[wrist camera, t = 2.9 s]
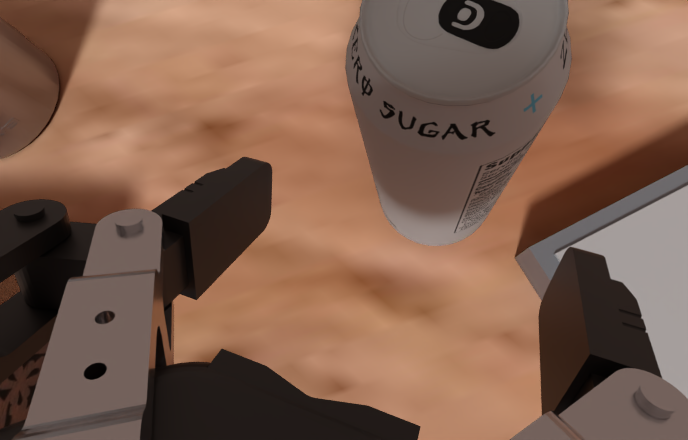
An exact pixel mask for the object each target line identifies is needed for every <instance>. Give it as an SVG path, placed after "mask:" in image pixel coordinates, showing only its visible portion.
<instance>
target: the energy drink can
mask: <svg viewBox="0 0 688 440" xmlns="http://www.w3.org/2000/svg"><path fill="white" fill-rule="evenodd" d="M568 14H569V12H568V0H362V4H361V7H360V17H359V19H358V20H357V22H356V24H355V26H354V28H353V30H352V33H351V36H350V40H349V43H348V47H347V53H346V74H347V81H348V86H349V90H350V94H351V97H352V101H353V105H354V108H355V112H356V116H357V119H358V123H359V127H360V130H361V134H362V137H363V141H364V145H365V148H366V152H367V156H368V159H369V163H370V167H371V170H372V174H373V178H374V181H375V185H376V189H377V192H378V196H379V199H380V203H381V207H382V209H383V212H384V214H385V216H386V218H387V220H388V221H389V223H390V224H391V225H392V226H393V228H394V229H395V230H396V231H397V232H398V233H400V234H401V235H403V236H404V237H406V238H407V239H409V240H412V241H414V242H416V243H419V244H424V245H428V246H442V245H449V244H453V243H456V242H458V241H461V240H463V239H465V238H466V237H468V236H470V235H471V234H473V233H474V232H475V231H476V230H477V229H478V228H479V227H480V226H481V224H482V223H483V222H484V220H485V219H486V217H487V216H488V214H489V212H490V211H491V209H492V208H493V206H494V204H495V203H496V201H497V199H498V198H499V196H500V195H501V193H502V191H503V190H504V188H505V187H506V185H507V183H508V182H509V180H510V178H511V177H512V175H513V174H514V172H515V170H516V169H517V167H518V166H519V164H520V162H521V161H522V159H523V157H524V156H525V154H526V153H527V151H528V149H529V148H530V146H531V145H532V143H533V141H534V140H535V138H536V136H537V135H538V133H539V132H540V130H541V128H542V127H543V125H544V124H545V122H546V120H547V119H548V117H549V115H550V114H551V112H552V111H553V109H554V107H555V106H556V104H557V103H558V101H559V99H560V97H561V95H562V93H563V90H564V88H565V86H566V83H567V81H568V78H569V72H570V66H571V60H572V56H571V42H570V36H569V33H568V29H567V26H566V25H567V20H568Z"/></svg>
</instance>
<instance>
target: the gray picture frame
mask: <svg viewBox="0 0 688 440" xmlns="http://www.w3.org/2000/svg"><path fill="white" fill-rule="evenodd" d="M569 247H574V248H578V249H582V250H585V251H589V252H593V253H596V254H600V255H603V256H604V257H605V259H606V263H607V266H608V270H609V274H610V278H611V279H613V280H616V281H620V282H623V284H624V285H625V286H626V287H627V288H628V289H629V291H630V292H631V293H632V294H633V295H634V297H635V298H636V299H637V302H638V305H639V308H640V311H641V314H642V317H641V318H642V319H643V320H644V323H645V326H646V333H648V336H649V339H650V342H651V345H652V348H653V351H654V354H655V357H656V360H657V363H658V367H659V370H660V373H661V376H662V379H664V380H666V381H667V382H669V383H670V384H672V385H673V386H674V387H675V388H677V389H678V390H679V391H680V392H681V393H682V394H683V395H685V396H686V398H687V399H688V165H687V166H685V167H683V168H681V169H679V170H677V171H675V172H673V173H671V174H669V175H667V176H666V177H664V178H662V179H660V180H658V181H656V182H654V183H652V184H650V185H648V186H646V187H644V188H642V189H640V190H639V191H637V192H635V193H633V194H631V195H629V196H627V197H625V198H623V199H621V200H619V201H617V202H615V203H613V204H612V205H610V206H608V207H606V208H604V209H602V210H600V211H598V212H596V213H594V214H592V215H590V216H588V217H586V218H585V219H583V220H581V221H579V222H577V223H575V224H573V225H571V226H569V227H567V228H565V229H563V230H561V231H559V232H557V233H556V234H554V235H552V236H550V237H548V238H546V239H544V240H542V241H540V242H538V243H536V244H534V245H532V246H530V247H529V248H527V249H526V250H525V251H523V252H522V253H521V254H519V255H518V256H517V257H515V259H516V261H517V262H518V264H519V265H520V267H521V269H522V270H523V272H524V273H525V275H526V276H527V278H528V280H529V281H530V283H531V284H532V286H533V288H534V289H535V291H536V292H537V294H538V295H539V297H540V299H541V300H542V299H543V296H544V294H545V292H546V290H547V288H548V286H549V283H550V281H551V279H552V277H553V275H554V273H555V271H556V269H557V267H558V265H559V263H560V261H561V259H562V257H563V255H564V253H565V251H566V250H567V249H568V248H569Z"/></svg>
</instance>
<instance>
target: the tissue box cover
mask: <svg viewBox="0 0 688 440" xmlns="http://www.w3.org/2000/svg"><path fill="white" fill-rule="evenodd" d="M48 345H49V342H48V343H47V344H46V345H45V346H43V347H42V348H41V349H40V350H39V351H38V352H37V353H35V354H34V355H33V356H32V357H31V358H30V359H29V360H27V361H26V362H25V363H24V364H23V365H22V366H20V367H19V368H18V369H17V370H16V371H15V372H14V373H12V374H11V375H10V376H9V377H8V378H7V379H6V380H4V381H3V382H2V383H1V384H0V429H2V428H4V427H7V426H9V425H12V424H15V423H17V422H20V421H22V420H25V419H26V418H27V415H28V411H29V408H30V405H31V401H32V398H33V395H34V391H35V388H36V385H37V381H38V378H39V375H40V371H41V368H42V365H43V361H44V358H45V355H46V351H47V348H48Z"/></svg>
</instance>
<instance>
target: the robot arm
mask: <svg viewBox="0 0 688 440" xmlns="http://www.w3.org/2000/svg"><path fill="white" fill-rule="evenodd" d="M58 93H59V77H58V73H57V70H56V67H55V65H54V63H53V62H52V60H51V59H50V57H49V56H48V55H46V54H45V53H44V52H43V51H41V50H40V49H39V48H37V47H36V46H35V45H33V44H32V43H31V42H29V41H28V40H27V39H26V38H25V36H24V35H23V34H22V33H20V32H19V31H18V30H16V29H15V28H14V27H13V26H11V25H10V24H9V23H7V22H6V21H5V20H3V19H2V18H1V17H0V159H2V158H5V157H7V156H10V155H12V154H14V153H16V152H18V151H19V150H21V149H22V148H24V147H25V146H27V145H28V144H29V143H30V142H31V141H32V140H33V139H34V138H36V137H37V136H38V135H39V133H40V132H41V131H42V129H43V128H44V127H45V126H46V124H47V123H48V121H49V119H50V117H51V115H52V113H53V112H54V109H55V106H56V103H57V100H58ZM271 199H272V167H271V165H270V164H269V163H267V162H263V161H259V160H256V159H252V158H248V157H242V158H241V159H239V160H238V161H236V162H235V163H234V164H232V165H231V166H229V167H228V168H226V169H225V168H223V169H219V170H216V171H213V172H210V173H207V174H205V175H204V176H202V177H201V178H199V179H198V180H196V181H195V183H194V184H193V183H192V184H190V185H189V186H187V187H186V188H185V190H182V191H180V192H179V193H177V194H176V195H174V196H173V197H171V198H170V199H168V200H167V201H165V202H164V203H162V204H161V205H159V206H158V207H156V208H155V209H153V210H152V211H149V210H144V209H127V210H121V211H118V212H114V213H112V214H109V215H107V216H105V217H104V218H102V219H101V220H100V221H99V222H98V223H97V224H91V223H80V222H70V221H69V217H68V214H67V210H66V207H65V206H64V205H63V204H62V203H60V202H57V201H53V200H45V199H39V200H29V201H24V202H20V203H16V204H14V205H11V206H9V207H7V208H5V209H3V210H1V211H0V283H1V282H2V281H4V280H5V279H7V278H8V277H10V276H11V275H13V274H14V275H15V277H16V280H17V282H18V285H19V287H20V290H21V291H20V292H18V293H17V294H16V295H14V296H13V297H11V298H10V299H9V300H7V301H6V302H4V303H3V304H2V305H0V384H1V383H2V382H3V381H4V380H6V379H7V378H8V377H9V376H10V375H11V374H12V373H14V372H15V371H16V370H17V369H18V368H19V367H20V366H22V365H23V364H24V363H25V362H26V361H27V360H29V359H30V358H31V357H32V356H33V355H34V354H35V353H37V352H38V351H39V350H40V349H41V348H42V347H43V346H45V345H46V344H47V343H48V342H49V345H48V348H47V351H46V355H45V358H44V361H43V365H42V368H41V371H40V375H39V378H38V381H37V385H36V388H35V391H34V395H33V398H32V401H31V405H30V408H29V411H28V415H27V418H26V419H25V420H22V421H20V422H17V423H15V424H12V425H9V426H7V427H4V428H2V429H0V440H417V439H418V435H419V431H420V426H418V425H415V424H413V423H410V422H408V421H405V420H403V419H400V418H398V417H395V416H392V415H390V414H387V413H385V412H382V411H380V410H377V409H375V408H372V407H370V406H366V405H359V404H352V403H345V402H339V401H332V400H325V399H318V398H313V397H310V396H308V395H306V394H304V393H303V392H302V391H300V390H299V389H298V388H296V387H295V386H293V385H292V384H291V383H289V382H288V381H286V380H285V379H284V378H282V377H281V376H280V375H278V374H277V373H275V372H274V371H273V370H271V369H270V368H268V367H267V366H265V365H262V364H260V363H257V362H255V361H252V360H249V359H247V358H244V357H242V356H239V355H237V354H234V353H232V352H229V351H227V350H224V349H221V350H220V352H219V353H218V354H217V356H216V357H215V358H214V359H213V361H212V362H211V363H209V362H187V363H178V364H174V304H173V300H174V299H175V298H176V297H177V296H178V295H179V294H182V295H184V296H187V297H190V298H192V299H195V300H197V299H198V298H199V297H200V296H201V295H202V294H203V293H204V292H205V291H206V290H207V289H208V288H209V287H210V286H211V285H212V284H213V283H214V282H215V280H216V279H217V278H218V277H219V276H220V275H221V274H222V273H223V272H224V271H225V270H226V269H227V268H228V267H229V266H230V265H231V264H232V263H233V262H234V261H235V260H236V259H237V258H238V257H239V256H240V255H241V254H242V253H243V252H244V250H245V249H246V248H247V247H248V246H249V245H250V244H251V243H252V242H253V241H254V240H255V239H256V238H257V237H258V236H259V235H260V234H261V233H262V232H263V231H264V229H265V228H266V226H267V224H268V222H269V219H270V215H271ZM641 317H642V314H641V311H640V308H639V305H638V302H637V299H636V298H635V297H634V295H633V294H632V293H631V292H630V291H629V289H628V288H627V287H626V286H625V285H624V284H623V282H620V281H616V280H613V279H611V278H610V274H609V270H608V266H607V263H606V259H605V257H604V256H603V255H600V254H596V253H593V252H589V251H585V250H582V249H578V248H574V247H569V248H568V249H567V250H566V251H565V253H564V255H563V257H562V259H561V261H560V263H559V265H558V267H557V269H556V271H555V273H554V275H553V277H552V279H551V281H550V283H549V286H548V288H547V290H546V292H545V294H544V296H543V299H542V302H541V306H540V310H539V342H540V371H541V400H542V416H541V417H540V418H538V419H537V420H536V421H534V422H533V423H531V424H530V425H529V426H527V427H526V428H525V429H523V430H522V431H521V432H519V433H518V434H517V435H515V436H514V437H512V438H511V439H510V440H688V399H687V398H686V396H685V395H683V394H682V393H681V392H680V391H679V390H678V389H677V388H675V387H674V386H673V385H672V384H670V383H669V382H667V381H666V380H664V379H662V376H661V373H660V370H659V367H658V363H657V360H656V357H655V354H654V351H653V348H652V345H651V342H650V339H649V336H648V333H646V326H645V323H644V320H643V319H642V318H641Z"/></svg>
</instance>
